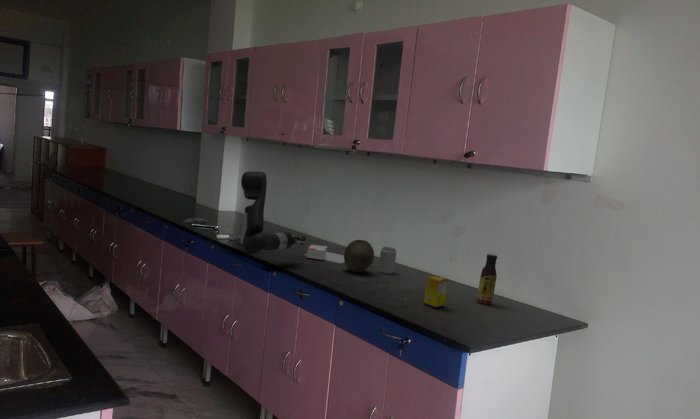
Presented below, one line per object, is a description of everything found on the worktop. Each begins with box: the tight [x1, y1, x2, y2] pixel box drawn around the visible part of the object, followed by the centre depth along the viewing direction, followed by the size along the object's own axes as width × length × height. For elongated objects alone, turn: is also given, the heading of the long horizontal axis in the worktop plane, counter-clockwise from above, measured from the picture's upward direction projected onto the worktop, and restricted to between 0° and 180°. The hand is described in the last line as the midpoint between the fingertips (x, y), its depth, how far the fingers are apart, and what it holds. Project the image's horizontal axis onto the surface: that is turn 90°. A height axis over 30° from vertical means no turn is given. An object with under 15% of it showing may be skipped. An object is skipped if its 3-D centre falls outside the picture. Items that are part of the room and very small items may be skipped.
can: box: [377, 246, 397, 275], centre depth 254 cm, size 8×8×12 cm
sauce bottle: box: [476, 253, 498, 306], centre depth 216 cm, size 7×6×20 cm
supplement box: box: [423, 275, 449, 309], centre depth 204 cm, size 6×6×11 cm
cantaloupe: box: [343, 239, 375, 273], centre depth 247 cm, size 14×14×15 cm
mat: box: [303, 251, 345, 265], centre depth 276 cm, size 22×18×1 cm
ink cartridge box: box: [306, 244, 328, 261], centre depth 272 cm, size 9×5×15 cm
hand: (304, 238), depth 253 cm, fingers closed
